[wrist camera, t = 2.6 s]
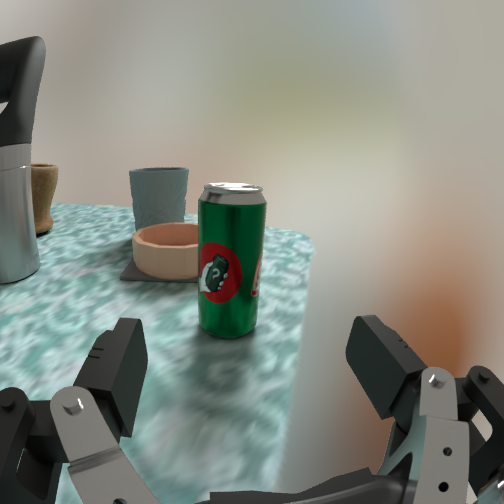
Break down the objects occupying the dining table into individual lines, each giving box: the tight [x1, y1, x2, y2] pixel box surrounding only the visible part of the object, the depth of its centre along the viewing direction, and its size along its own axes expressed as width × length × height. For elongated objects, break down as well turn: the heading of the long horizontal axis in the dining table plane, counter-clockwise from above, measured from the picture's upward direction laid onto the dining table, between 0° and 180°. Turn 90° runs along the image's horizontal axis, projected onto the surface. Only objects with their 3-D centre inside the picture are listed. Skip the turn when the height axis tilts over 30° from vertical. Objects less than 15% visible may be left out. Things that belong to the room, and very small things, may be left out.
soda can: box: [198, 183, 267, 339], centre depth 22 cm, size 5×5×12 cm
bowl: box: [132, 222, 198, 280], centre depth 35 cm, size 12×12×4 cm
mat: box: [120, 259, 198, 282], centre depth 36 cm, size 13×11×1 cm
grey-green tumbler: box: [129, 167, 189, 231], centre depth 45 cm, size 10×10×12 cm
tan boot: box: [31, 163, 58, 234], centre depth 44 cm, size 15×12×15 cm
